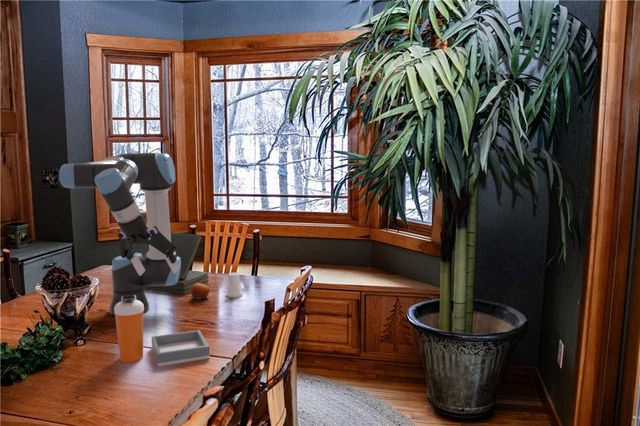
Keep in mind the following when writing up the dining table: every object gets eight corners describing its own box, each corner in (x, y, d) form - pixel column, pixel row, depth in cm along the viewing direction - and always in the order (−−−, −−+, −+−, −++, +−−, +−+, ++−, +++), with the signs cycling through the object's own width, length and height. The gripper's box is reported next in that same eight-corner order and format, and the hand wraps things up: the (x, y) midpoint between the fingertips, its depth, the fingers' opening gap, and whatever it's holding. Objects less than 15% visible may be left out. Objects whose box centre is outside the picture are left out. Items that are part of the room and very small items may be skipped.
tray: (152, 348, 180) (151, 336, 179) (199, 340, 186) (199, 329, 186) (158, 366, 165) (157, 354, 165) (209, 358, 172) (209, 346, 171)
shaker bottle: (118, 366, 166) (115, 303, 163) (115, 355, 173) (111, 296, 171) (148, 360, 170) (145, 299, 167) (143, 350, 178) (140, 292, 175)
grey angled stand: (143, 290, 249) (140, 237, 246) (170, 280, 267) (168, 230, 264) (184, 295, 241) (182, 241, 237) (208, 284, 259) (207, 234, 255)
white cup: (246, 294, 242) (245, 272, 240) (235, 298, 235) (234, 276, 234) (233, 291, 246) (233, 270, 244) (222, 295, 239) (221, 274, 238)
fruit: (184, 297, 231) (189, 280, 234) (194, 302, 238) (199, 285, 241) (200, 300, 228) (205, 282, 231) (209, 304, 235) (214, 287, 238)
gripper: (90, 227, 164) (122, 281, 174) (155, 220, 154) (185, 277, 164) (104, 214, 170) (134, 266, 180) (168, 206, 160) (196, 262, 170)
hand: (159, 272), depth 172 cm, fingers open, 13 cm apart
